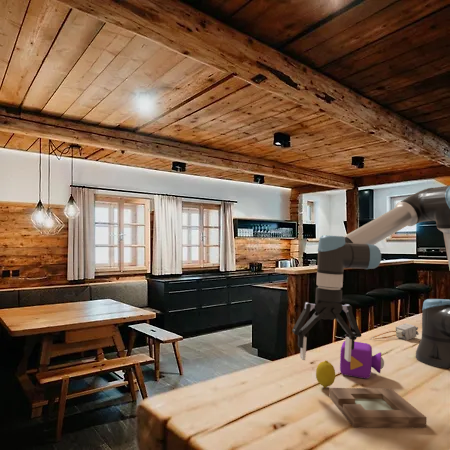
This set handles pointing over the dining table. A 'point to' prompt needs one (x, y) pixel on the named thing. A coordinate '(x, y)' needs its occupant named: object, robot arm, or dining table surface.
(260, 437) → the dining table surface
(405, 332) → the electrical component
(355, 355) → the toy camera
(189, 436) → the dining table surface
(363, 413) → the pocket board
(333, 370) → the lemon
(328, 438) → the dining table surface
